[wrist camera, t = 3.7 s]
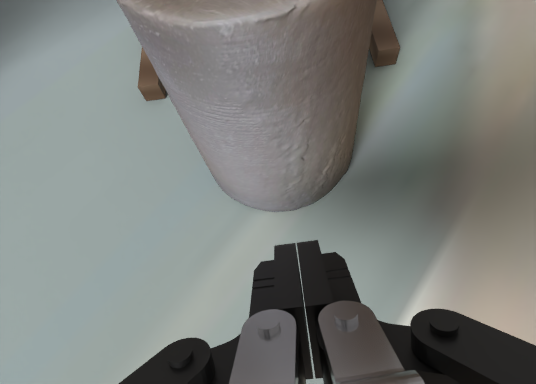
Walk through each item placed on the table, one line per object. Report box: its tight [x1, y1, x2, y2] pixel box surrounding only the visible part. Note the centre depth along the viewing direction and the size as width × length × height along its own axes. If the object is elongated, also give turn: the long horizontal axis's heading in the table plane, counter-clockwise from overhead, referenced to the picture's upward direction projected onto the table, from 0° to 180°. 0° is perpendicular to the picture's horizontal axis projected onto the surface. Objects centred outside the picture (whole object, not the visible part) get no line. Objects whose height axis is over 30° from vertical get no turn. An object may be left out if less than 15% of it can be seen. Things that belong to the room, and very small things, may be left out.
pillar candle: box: [117, 0, 377, 212], centre depth 17 cm, size 10×10×15 cm
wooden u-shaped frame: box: [138, 0, 400, 101], centre depth 29 cm, size 16×19×2 cm
